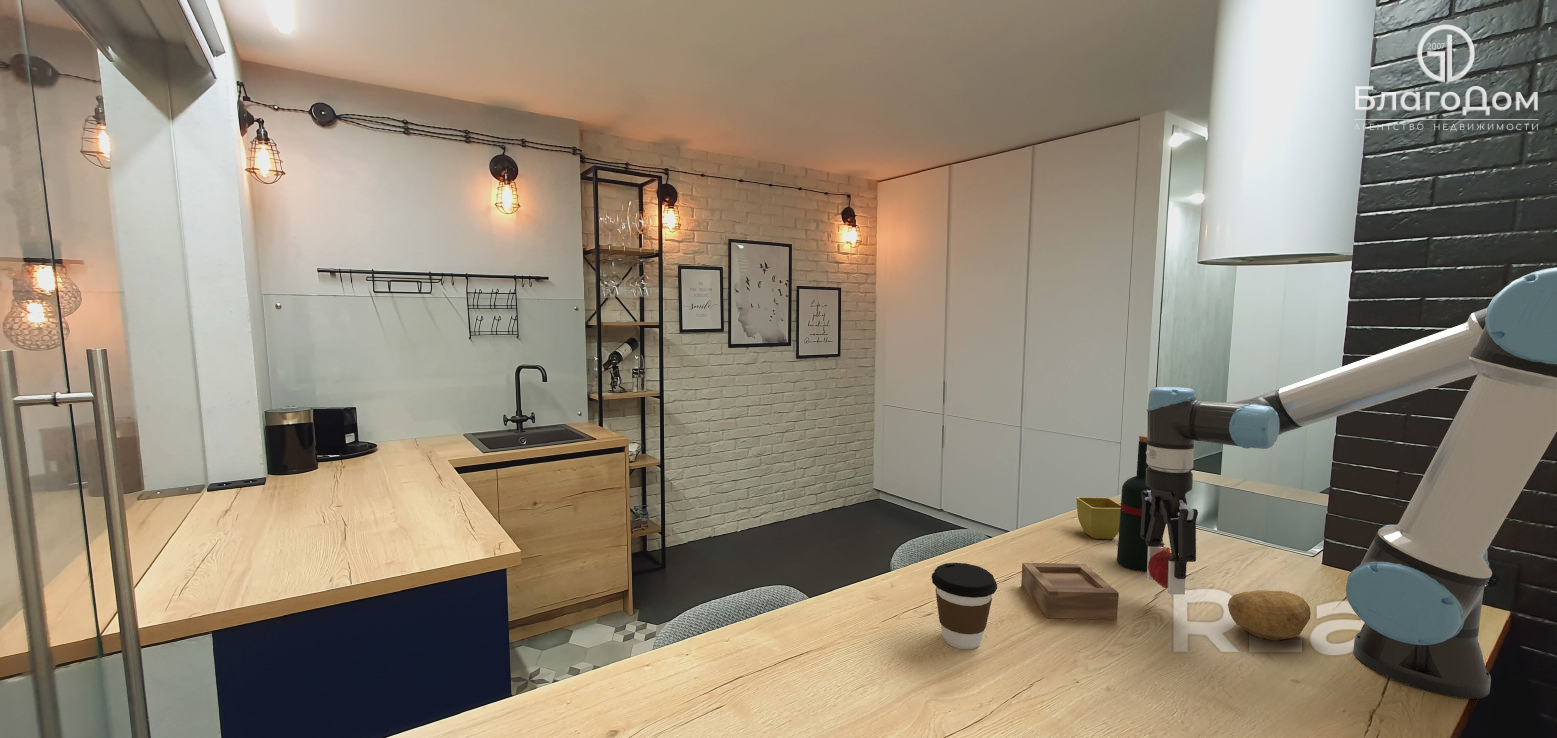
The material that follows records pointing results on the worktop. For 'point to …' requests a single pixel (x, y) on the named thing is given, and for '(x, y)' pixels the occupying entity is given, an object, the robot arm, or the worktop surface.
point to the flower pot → (1099, 516)
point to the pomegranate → (1160, 566)
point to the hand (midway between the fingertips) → (1165, 585)
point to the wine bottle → (1133, 516)
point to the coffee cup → (963, 602)
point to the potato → (1270, 613)
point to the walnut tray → (1069, 591)
